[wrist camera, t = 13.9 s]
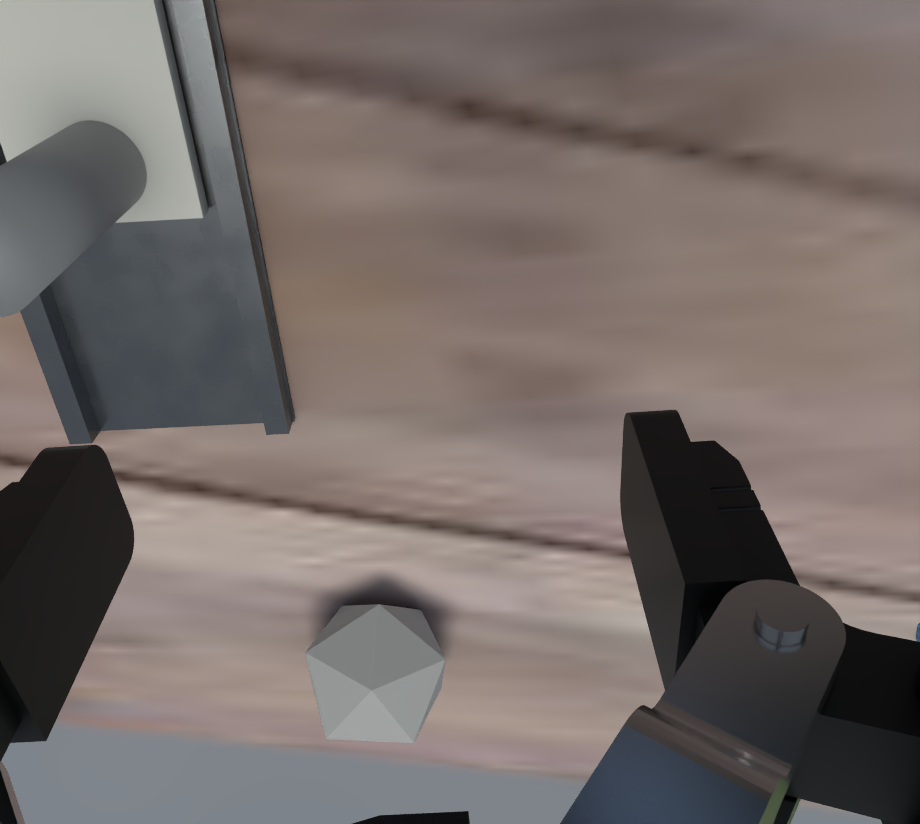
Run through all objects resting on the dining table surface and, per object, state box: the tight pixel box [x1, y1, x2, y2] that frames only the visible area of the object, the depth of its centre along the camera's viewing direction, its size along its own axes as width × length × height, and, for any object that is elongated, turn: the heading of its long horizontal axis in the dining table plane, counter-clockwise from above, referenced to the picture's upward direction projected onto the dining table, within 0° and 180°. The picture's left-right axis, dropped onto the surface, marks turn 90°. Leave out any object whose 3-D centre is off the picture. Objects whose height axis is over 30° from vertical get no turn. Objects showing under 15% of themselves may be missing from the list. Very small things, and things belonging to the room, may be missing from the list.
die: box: [305, 604, 446, 743], centre depth 50 cm, size 8×9×10 cm
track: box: [0, 0, 295, 444], centre depth 35 cm, size 34×12×1 cm, turn 3°
